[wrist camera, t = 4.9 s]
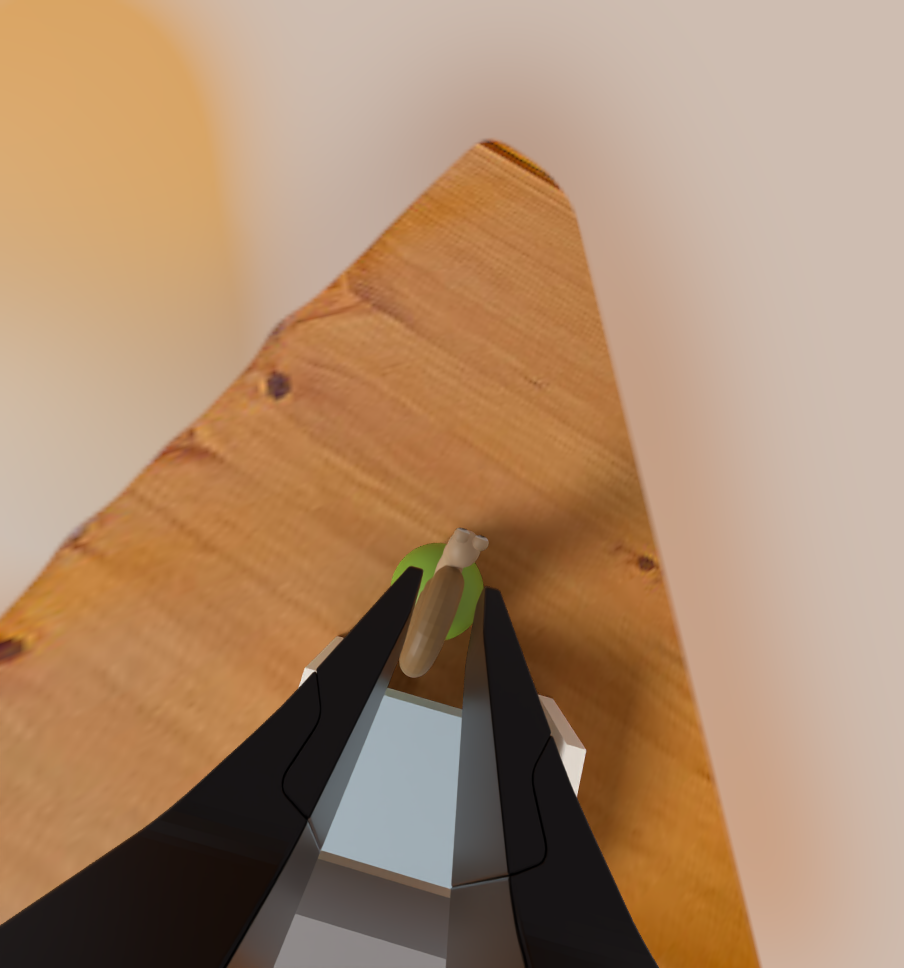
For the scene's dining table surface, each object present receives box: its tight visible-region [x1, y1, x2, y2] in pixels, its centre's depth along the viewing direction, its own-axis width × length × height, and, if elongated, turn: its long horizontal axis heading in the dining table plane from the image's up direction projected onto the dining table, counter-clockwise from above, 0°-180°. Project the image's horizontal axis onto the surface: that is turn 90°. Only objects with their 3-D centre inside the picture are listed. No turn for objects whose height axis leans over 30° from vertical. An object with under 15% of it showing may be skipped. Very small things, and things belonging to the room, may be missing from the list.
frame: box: [299, 636, 586, 898], centre depth 18 cm, size 14×12×5 cm
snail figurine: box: [391, 528, 489, 678], centre depth 16 cm, size 5×6×12 cm
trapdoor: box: [274, 688, 462, 968], centre depth 16 cm, size 11×12×2 cm
